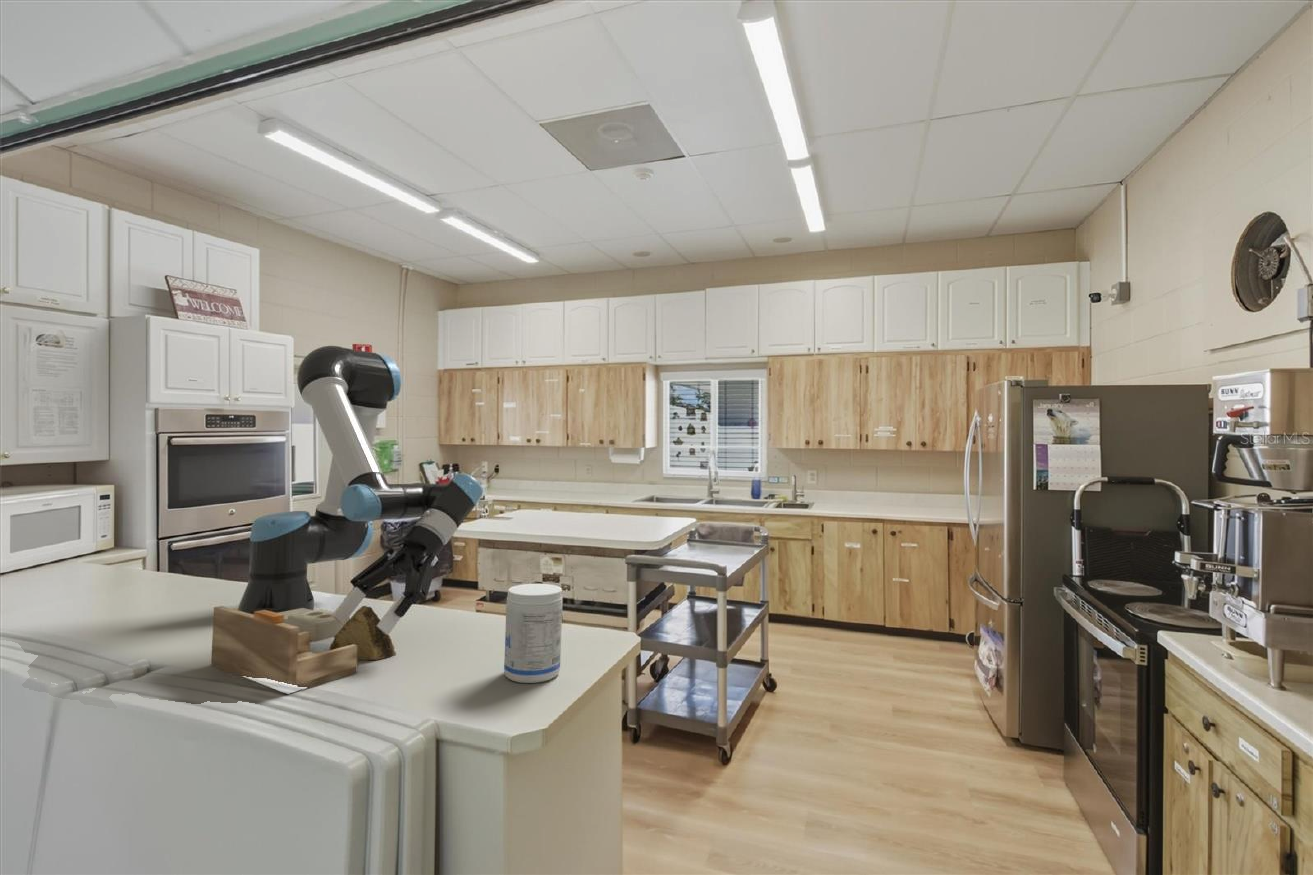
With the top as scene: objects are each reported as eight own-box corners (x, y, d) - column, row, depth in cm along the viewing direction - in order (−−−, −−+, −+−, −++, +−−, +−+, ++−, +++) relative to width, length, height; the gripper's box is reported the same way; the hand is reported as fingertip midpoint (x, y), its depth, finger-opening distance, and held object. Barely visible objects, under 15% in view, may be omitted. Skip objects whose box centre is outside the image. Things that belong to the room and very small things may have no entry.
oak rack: (278, 648, 113) (281, 589, 113) (356, 673, 100) (359, 606, 101) (209, 665, 103) (213, 600, 103) (286, 695, 90) (289, 621, 91)
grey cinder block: (303, 603, 133) (350, 615, 124) (302, 621, 133) (349, 634, 124) (269, 610, 127) (316, 622, 118) (268, 629, 127) (315, 643, 118)
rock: (310, 647, 107) (339, 649, 101) (337, 603, 112) (367, 603, 106) (357, 671, 113) (388, 674, 108) (381, 628, 118) (411, 630, 113)
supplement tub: (499, 669, 104) (502, 584, 104) (552, 662, 108) (555, 581, 108) (509, 688, 95) (512, 596, 96) (566, 681, 99) (569, 592, 99)
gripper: (380, 520, 127) (306, 604, 113) (461, 527, 114) (389, 623, 100) (401, 542, 131) (332, 626, 117) (481, 552, 118) (415, 646, 105)
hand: (358, 625), depth 109 cm, fingers open, 13 cm apart
